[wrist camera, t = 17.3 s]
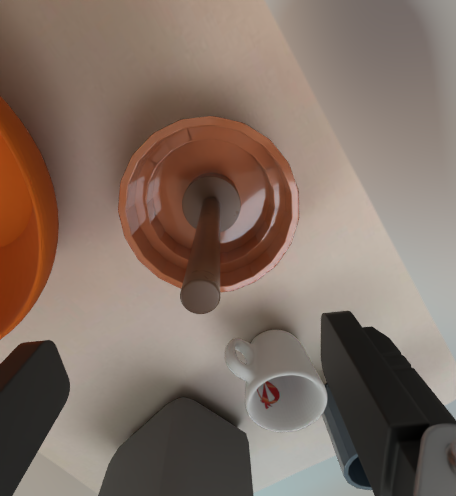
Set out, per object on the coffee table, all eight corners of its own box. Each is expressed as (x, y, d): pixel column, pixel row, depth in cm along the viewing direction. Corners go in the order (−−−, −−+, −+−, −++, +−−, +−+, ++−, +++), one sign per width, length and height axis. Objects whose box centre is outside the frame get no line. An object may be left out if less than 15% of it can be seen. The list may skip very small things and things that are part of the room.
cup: (208, 346, 36) (204, 403, 28) (245, 297, 33) (251, 345, 26) (280, 382, 38) (294, 443, 31) (319, 339, 36) (345, 393, 28)
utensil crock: (372, 373, 38) (415, 442, 29) (369, 413, 40) (407, 486, 32) (317, 378, 38) (345, 448, 30) (317, 418, 40) (342, 492, 32)
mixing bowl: (280, 111, 26) (297, 105, 21) (286, 257, 32) (300, 284, 26) (123, 129, 27) (97, 129, 21) (154, 271, 32) (140, 301, 26)
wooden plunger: (236, 169, 28) (260, 228, 11) (241, 223, 29) (268, 343, 13) (180, 175, 28) (120, 244, 11) (189, 228, 30) (148, 355, 13)
